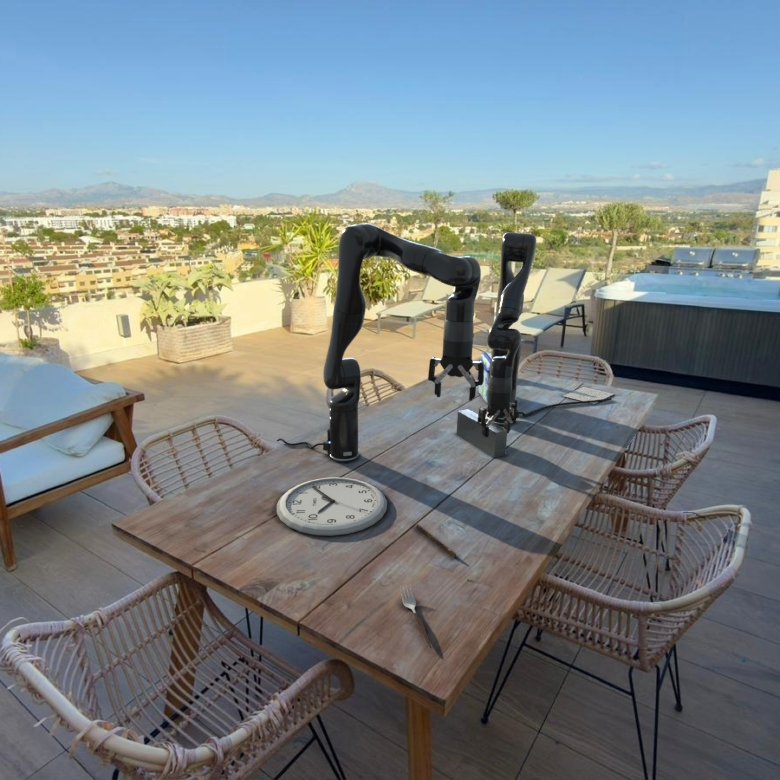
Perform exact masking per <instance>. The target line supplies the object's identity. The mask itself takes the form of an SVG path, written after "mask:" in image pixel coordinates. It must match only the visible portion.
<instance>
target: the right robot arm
mask: <svg viewBox="0 0 780 780" xmlns="http://www.w3.org/2000/svg"><path fill="white" fill-rule="evenodd" d="M536 250H537V237H536V235H535V234H533V233H524V232H511V231H510V232H505V233H504V234H503V236H502V238H501V245H500V261H499V279H498V288H497V295H496V296H497V297H496V307H495V318H494V321H493V322H492V325H491V327H490V329H489V330H488V333H487V335H486V345H487V346H488V348H489V349H490V350H491V351H490V352H491V358H492V360H491V368H490V378H489V384H488V397H487V401H488V404H487V405H486V407H484V406H483V407H482V406H479V408H478V413H477V414H478V422H477V423H478V424H479V425H481V426H483V427H482V435H483V436H484V437H489V425H490V424H491V422H493V423H495V424H497V425H498V426H503V428H504V429H506V430H507V434H510V431H511V429H512V428H511V427H512V425H513V424H516V423H517V419H519V418H520V415H522V416H523V417H529V416H531V415H533V414H536V413H538V412H540V411H543V410H546V409H550V408H554V407H561V406H566V405H567V406H569V405H577V404H591V402H598V403H600V402H602V403H603V402H608V401H612V397H608V398H606V399H601V400H591V401H579V400H577V401H569V402H560V403H559V402H558V403H555V404H554V403H553V404H548V405H546V406H542V407H540V408H537V409H534V410H532V411H530V412H527V413H525V412H524V411H520V410H518V399H517V388H518V377H519V376H518V375H519V366H520V360H521V353H522V343H521V342H522V333H521V331H520V330H518V328H511V327H512V326H513V324H515V323H517V322H518V321H519V320H520V317H521V316H522V313H523V308H524V301H525V294H524V293H525V290H526V287H527V283H528V281H529V278H530V274H531V270H532V267H533V263H534V259H535V255H536ZM511 263H521V267H520V269H519V271H518V272H517V274H516V275H515V274H514V272H513V269H512V264H511ZM487 421H488V422H487ZM486 422H487V423H486Z"/></svg>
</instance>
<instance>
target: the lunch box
mask: <svg viewBox="0 0 780 780" xmlns="http://www.w3.org/2000/svg"><path fill="white" fill-rule="evenodd" d="M491 360H492V358H491V351H482V352H481V354H480V358H479V360H478V362H480V361H483V362H484V382H483V385H481V386H480V385H479V386H478V393H479V395H480V396H481V397H482V399H483V400H484V402H485V404H487V405H488V401H487V397H488V384H489V378H490V368H491ZM476 380H478V378H477V379H476Z"/></svg>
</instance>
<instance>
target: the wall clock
mask: <svg viewBox="0 0 780 780" xmlns="http://www.w3.org/2000/svg"><path fill="white" fill-rule="evenodd" d="M387 509H388V500H387V498H386V496H385V494H384V493H383V492H382V491H381V490H380V489H379V488H377V487H376V486H374V485H372V484H371V483H369V482H365V481H362V480H359V479H355V478H349V477H338V476H337V477H335V476H333V477H332V476H331V477H322V478H317V479H312V480H307V481H305V482H302V483H299V484H297V485H295V486H293V487H292V488H290V489H288V490H287V491H286V492H285V493H284V494H283V495H281V496H280V498H279V499H278V502H277V503H276V515H277V517H278V518H279V520H280V521H281V522H282V523H283V524H285V525H286V526H287V527H288V528H290V529H293V530H295V531H297V532H299V533H303V534H308V535H312V536H327V537H328V536H329V537H331V536H332V537H333V536H342V535H350V534H352V533H356V532H361V531H363V530H366V529H368V528H369V527H372V526H373V525H375V524H376V523H378V522H379V521H380V520H381V519H382V518H383V517H384V516H385V514H386V512H387Z"/></svg>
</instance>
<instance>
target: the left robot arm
mask: <svg viewBox="0 0 780 780" xmlns="http://www.w3.org/2000/svg"><path fill="white" fill-rule="evenodd" d="M373 257H380V258H388V259H392V260H394V261H395V262H397V263H398V264H400V265H401V266H402V267H404V268H405V269H406V270H409V271H411V272H414V273H416V274H420V275H422V276H426V277H431V278H432V279H434V280H436V281H437V282H440V283H441V284H444V285H446V286H450V287H453V290H452V294H451V295H450V296H449V297H447V299H446V303H445V312H444V313H445V314H444V315H445V316H444V318H445V319H444V325H443V335H442V336H443V337H442V356H441V358H437V357H436V356H432V357H431V358H430V359H429V365H428V367H429V368H428V374H427V380H428V381H429V382H433V383H434V392H433V393H434V395H435V396H436V398H440V397H441V396H442V382H441V381H442V380H443V379H445V377H446V376H449V377H457V378H462V377H464V378H465V380H466V381H467V383H468V384H469V385H470V386H469V392H468V393H469V397H468V400H469V401H470V402H471V401H473V400H475V398H476V395H477V393H476V392H477V387H479V385H480V386H481V385H483V382H484V362H483V361H480V362H479V361H474V360H473V347H474V345H473V344H474V336H475V333H474V316H475V315H474V314H475V302H476V299H477V295H478V291H479V287H480V283H481V277H482V271H481V265H480V263H479V261H478V260H477V258H475V257H472V256H469V255H467V256H466V255H465V256H454V255H450V254H446V253H445V252H444V251H443V250H440V249H439V248H435V247H432V246H428V245H424V244H421V243H417V242H414V241H410V240H407V239H405V238H402V237H400V236H397V235H395V234H392V233H391V232H388V231H387V230H385V229H382V228H380V227H378V226H376V225H374V224H371V223H368V222H367V223H365V222H364V223H359V224H358V223H357V224H352V225H349V226H346V227H345V228H344V229H343V230H342V231H341V234H340V236H339V242H338V261H337V262H338V263H337V264H338V265H337V266H338V268H337V281H336V289H335V299H334V304H333V311H332V321H331V329H330V335H329V342H328V347H327V351H326V355H325V358H324V359H325V360H324V364H323V372H322V377H323V383H324V385H325V387H326V388H327V389H329V390H340V389H341V390H340V391H339V392H338V393H337V394H335V395H333V396H331V398H330V399H329V402H328V410H329V411H328V412H329V427H328V429H327V440H325V441H323V442H318V443H315V444H314V445H312V446H311V444H310V443H309V442H307V441H300V442H296V443H291V442H288V441H286V440H285V439H284V438H277V439H276V442H279V441H281V442H283V443H284V444H285V445H287V446H290V447H294V446H295V447H296V446H299V445H300V446H301V445H307V446H308V448H309V449H314V448H316V447H319V446H322V450H323V451H325V452H327V457H329V458H330V460H332V461H334V462H338V463H350V462H353V461H356V460H357V459H358V458H359V402H360V398H361V378H362V377H361V374H362V373H361V367H360V364H359V362H358V360H357V359H355V358H354V357H345V358H344V355H345V353H346V351H347V349H348V347H349V346H350V345H351V344H352V342H353V341H354V340H355V338H356V337H357V336H358V334H359V333H360V331H362V328H363V325H364V322H365V316H366V310H367V301H366V297H365V294H364V291H363V289H362V286H361V273H362V272H361V271H362V265H363V262H364V260H366V259H370V258H373ZM439 364H440V366H441V367H442V369H443V370H442V371H441V372H440V373H439V375H437V376H436V375H435V373H436V367H438V366H439ZM473 367H474V369H475V371H477V379H478V380H477V379H476V378H475V377H474V376H473V373H472V372H471V371H470V370H471V369H472V368H473Z"/></svg>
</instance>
